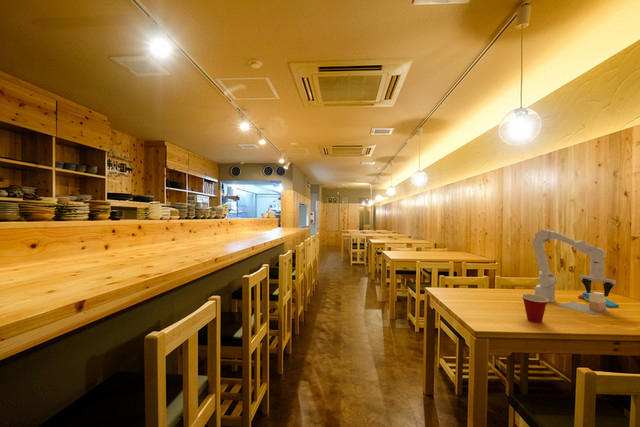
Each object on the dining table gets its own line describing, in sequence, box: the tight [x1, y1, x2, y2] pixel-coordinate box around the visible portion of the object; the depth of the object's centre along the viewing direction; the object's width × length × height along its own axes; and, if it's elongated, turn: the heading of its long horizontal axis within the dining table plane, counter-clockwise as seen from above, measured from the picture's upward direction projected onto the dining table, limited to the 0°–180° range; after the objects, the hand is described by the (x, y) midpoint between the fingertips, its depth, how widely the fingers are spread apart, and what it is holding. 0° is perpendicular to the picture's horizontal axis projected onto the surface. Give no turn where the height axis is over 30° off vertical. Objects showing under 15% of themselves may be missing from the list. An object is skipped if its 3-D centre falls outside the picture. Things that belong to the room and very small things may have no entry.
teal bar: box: [577, 291, 620, 308], centre depth 172 cm, size 7×7×18 cm
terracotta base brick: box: [588, 300, 607, 312], centre depth 158 cm, size 4×7×4 cm, turn 112°
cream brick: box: [588, 291, 607, 303], centre depth 158 cm, size 4×7×4 cm, turn 111°
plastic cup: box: [521, 293, 549, 324], centre depth 143 cm, size 11×11×12 cm
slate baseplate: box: [556, 301, 611, 316], centre depth 161 cm, size 18×17×1 cm
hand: (597, 294), depth 158 cm, fingers open, 7 cm apart
